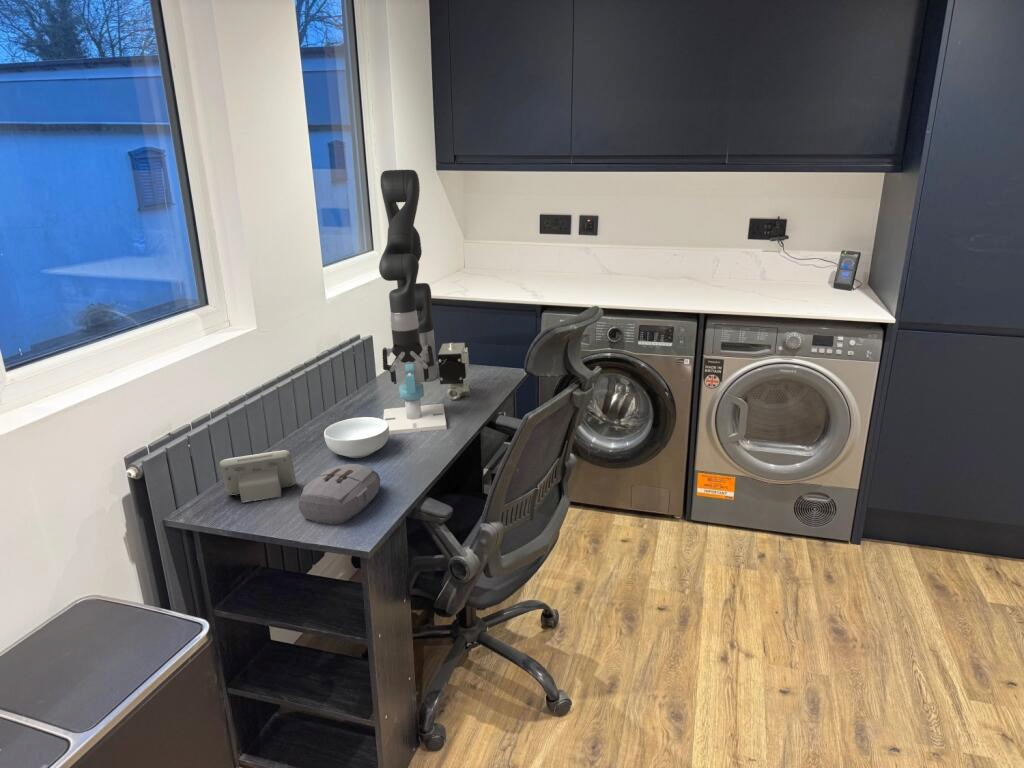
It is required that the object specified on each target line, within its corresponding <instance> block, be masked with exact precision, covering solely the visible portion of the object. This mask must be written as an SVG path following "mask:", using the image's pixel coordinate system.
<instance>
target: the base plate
mask: <svg viewBox="0 0 1024 768" xmlns="http://www.w3.org/2000/svg"><path fill="white" fill-rule="evenodd" d="M404 405H405V406H402V407H392V408H385V409H383V419H382V420H385V421H386V422H387V423H388V425H389V436H390V435H398V434H399V435H400V434H409V433H419V432H421V431H422V432H429V431H430V432H431V431H440V430H442V431H443V430H447V429H448V428H447V420H446V414H445V408H444V403H437V404H427V405H421V398H419V399H415V400H404ZM422 432H421V433H422Z"/></svg>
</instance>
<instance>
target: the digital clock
mask: <svg viewBox="0 0 1024 768" xmlns="http://www.w3.org/2000/svg"><path fill="white" fill-rule="evenodd" d="M219 469H220V473H221V476H222V478H223V483H224V486H225V489H226V490H225V491H226V493H227V494H228V495H229V494H237V493H240V495H239V496H240V500H241V502H242V501H246V500H254V499H263V498H270V497H271V498H272V497H278V498H281V497H282V489H284V488H288V487H292V486H294V485H296V482H297V479H296V478H297V477H296V473H295V468H294V462H293V457H292V454H291V451H289V450H285V449H283V450H274V451H270V452H268V451H267V452H262V453H255V454H250V455H249V454H248V455H243V456H237V457H229V458H225V459H223V460H220V461H219Z"/></svg>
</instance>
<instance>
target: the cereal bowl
mask: <svg viewBox="0 0 1024 768" xmlns="http://www.w3.org/2000/svg"><path fill="white" fill-rule="evenodd" d="M323 436H324V440H325V444H326V445H327V448H328V449H330V450H331V451H332V452H333V453H334V454H336V455H340V456H344V457H347V458H350V459H361V458H364V457H365V458H366V457H368V456H370V455H372V454H373V453H374V452H376V451H379V449H381V448H383V446H385V444H386V443H387V441H388V439H389V436H390V435H389V425H388V423H387V422H386V421H385V420H383V419H382V418H379V417H372V416H371V417H369V416H365V417H364V416H361V417H352V418H348V419H343V420H341V421H336V422H335V423H332V424H330V425H329V426H328V427H326V428H325V430H324V432H323Z"/></svg>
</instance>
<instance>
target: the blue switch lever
mask: <svg viewBox="0 0 1024 768" xmlns="http://www.w3.org/2000/svg"><path fill="white" fill-rule="evenodd" d="M404 367H405V368H404V369H405V370H404V371H405V374H404V375H405V377H404V378H405V383H402V384H400V385H399V386H398V391H399V392H398V393H399V397H400V399H401V400H404V401H405V400H415V399H419V398H420V399H422V398H423V397H424V396H425V392H424V384H423V382H417V381H415V375H414V365H413V364H410V363H406V364H405V365H404Z"/></svg>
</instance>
